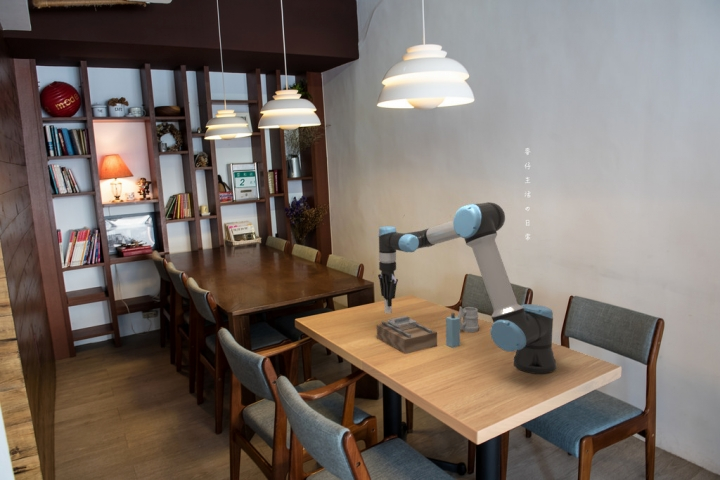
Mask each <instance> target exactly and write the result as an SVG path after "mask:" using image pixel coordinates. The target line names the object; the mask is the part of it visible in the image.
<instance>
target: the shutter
mask: <svg viewBox="0 0 720 480" xmlns="http://www.w3.org/2000/svg"><path fill="white" fill-rule="evenodd" d="M387 323H388V324H390V325H392V326H394V327H396V328H398V329H400V330H405V329H410V328H414V327H417V323H418V321H416V320H415V319H412V318H411V317H410V316H406V315H404V316H398V317H394V318H390V319H387Z"/></svg>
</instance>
